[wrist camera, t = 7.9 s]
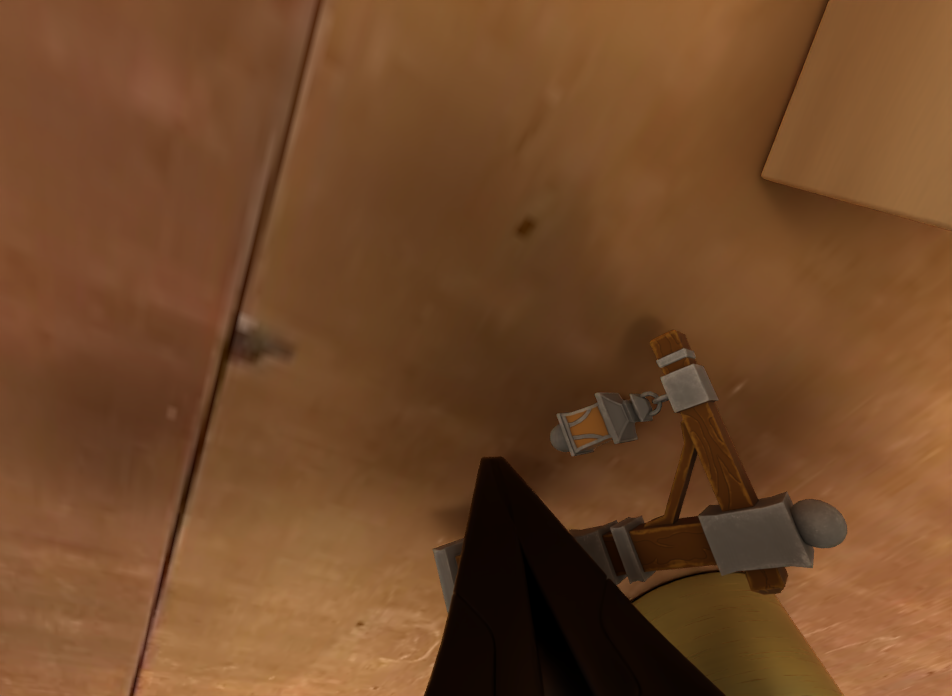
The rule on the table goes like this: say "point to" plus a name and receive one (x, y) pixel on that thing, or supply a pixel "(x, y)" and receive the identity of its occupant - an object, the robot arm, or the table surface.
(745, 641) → the enamel tin
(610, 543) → the wooden lantern post
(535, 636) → the robot arm
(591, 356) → the table surface
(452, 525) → the table surface
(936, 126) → the birch block
